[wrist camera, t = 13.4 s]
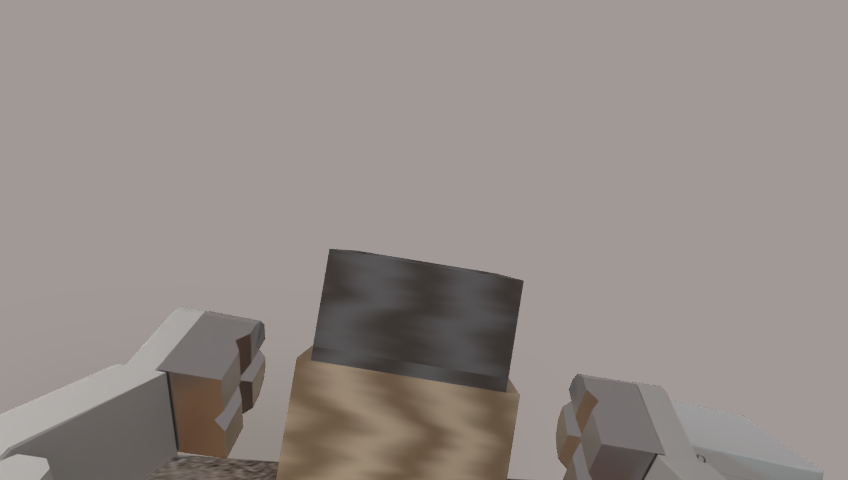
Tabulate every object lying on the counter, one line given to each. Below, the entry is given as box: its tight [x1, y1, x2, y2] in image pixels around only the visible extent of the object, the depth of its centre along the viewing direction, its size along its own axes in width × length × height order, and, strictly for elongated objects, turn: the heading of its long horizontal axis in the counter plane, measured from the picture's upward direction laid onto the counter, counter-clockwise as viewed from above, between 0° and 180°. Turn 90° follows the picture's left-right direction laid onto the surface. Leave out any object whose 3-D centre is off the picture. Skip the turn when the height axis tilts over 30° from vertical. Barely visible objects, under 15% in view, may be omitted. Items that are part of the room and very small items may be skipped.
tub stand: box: [276, 249, 523, 480], centre depth 42 cm, size 16×14×26 cm
